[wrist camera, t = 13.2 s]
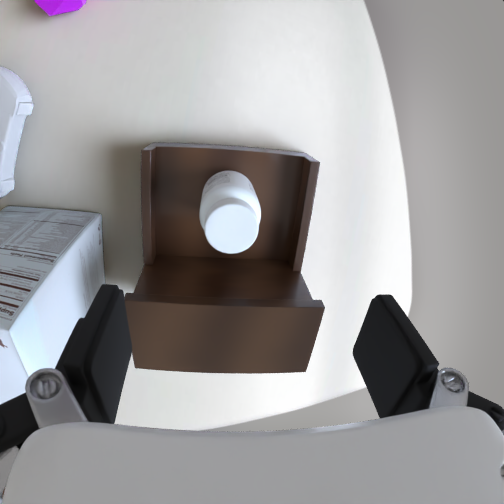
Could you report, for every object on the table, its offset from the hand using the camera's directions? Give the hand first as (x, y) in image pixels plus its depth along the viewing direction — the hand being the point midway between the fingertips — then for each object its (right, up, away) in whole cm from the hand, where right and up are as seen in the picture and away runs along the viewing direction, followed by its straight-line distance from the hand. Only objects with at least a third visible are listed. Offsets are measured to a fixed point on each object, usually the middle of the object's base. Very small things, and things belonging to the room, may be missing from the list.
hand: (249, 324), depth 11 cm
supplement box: (-22, 0, +20) cm, 30 cm away
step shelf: (-3, +5, +19) cm, 20 cm away
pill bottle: (-2, +8, +16) cm, 17 cm away
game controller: (-26, +15, +12) cm, 33 cm away
